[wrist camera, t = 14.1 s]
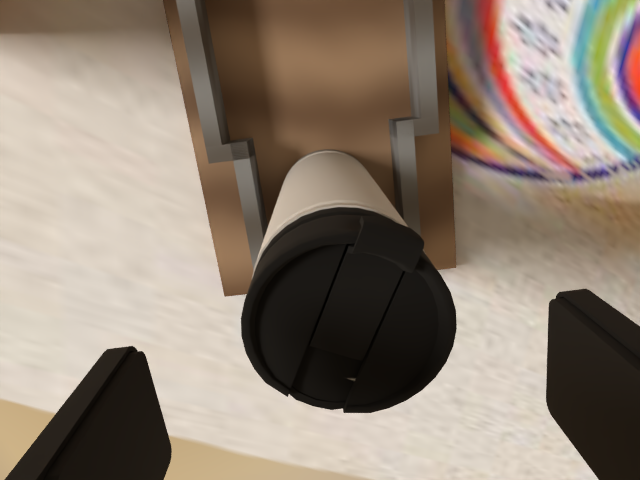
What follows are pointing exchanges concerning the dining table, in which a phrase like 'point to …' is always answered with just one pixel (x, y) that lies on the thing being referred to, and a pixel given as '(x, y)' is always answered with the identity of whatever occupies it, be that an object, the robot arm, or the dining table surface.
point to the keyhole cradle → (314, 109)
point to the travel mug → (344, 294)
